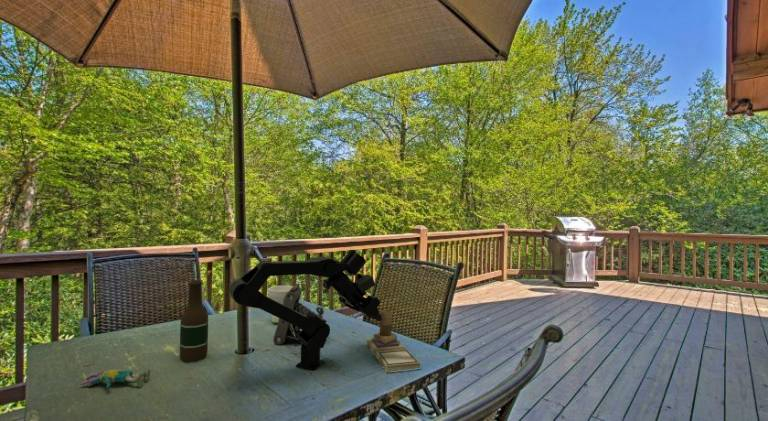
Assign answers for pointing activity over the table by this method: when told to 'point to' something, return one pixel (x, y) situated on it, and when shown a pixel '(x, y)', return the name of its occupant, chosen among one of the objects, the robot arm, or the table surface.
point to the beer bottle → (194, 326)
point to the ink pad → (385, 345)
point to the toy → (117, 377)
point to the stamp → (385, 329)
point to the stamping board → (394, 357)
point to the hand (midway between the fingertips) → (373, 316)
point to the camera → (292, 302)
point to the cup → (278, 296)
